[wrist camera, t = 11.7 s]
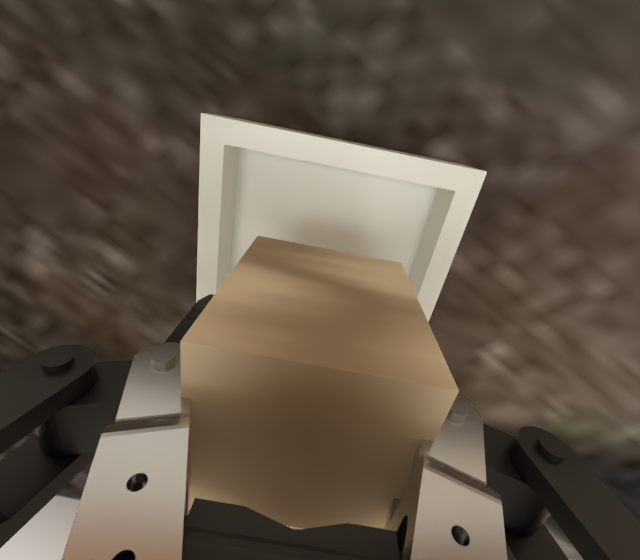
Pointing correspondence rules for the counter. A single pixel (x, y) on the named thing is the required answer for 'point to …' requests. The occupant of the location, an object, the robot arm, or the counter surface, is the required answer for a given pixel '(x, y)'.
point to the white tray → (327, 201)
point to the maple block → (311, 386)
